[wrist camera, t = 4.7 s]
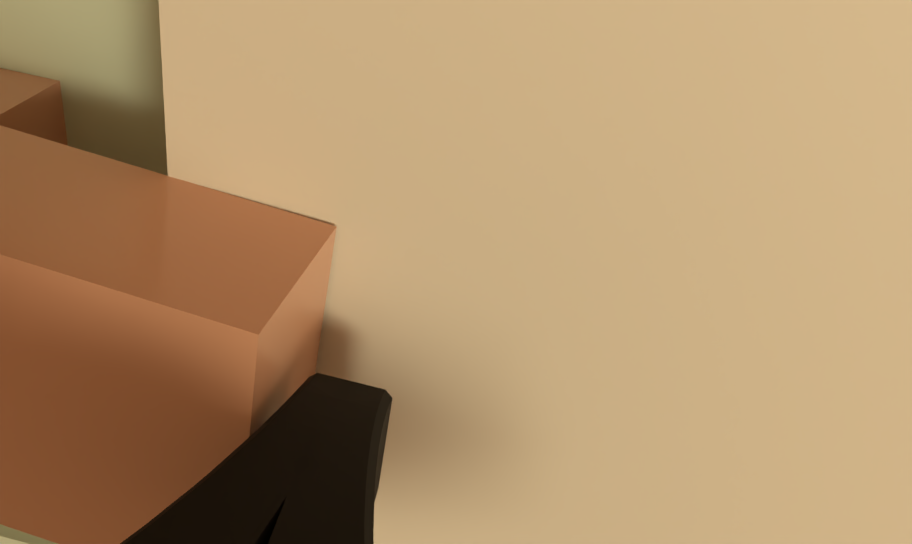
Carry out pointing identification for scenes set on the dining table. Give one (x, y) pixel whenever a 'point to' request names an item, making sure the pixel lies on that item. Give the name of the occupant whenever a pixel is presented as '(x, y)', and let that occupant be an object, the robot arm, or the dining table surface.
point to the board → (590, 250)
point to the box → (93, 84)
